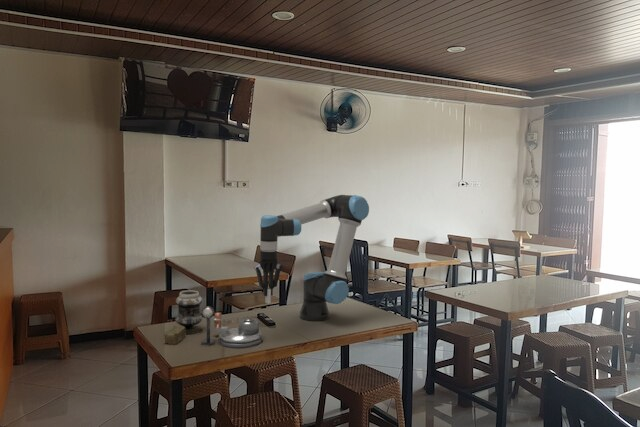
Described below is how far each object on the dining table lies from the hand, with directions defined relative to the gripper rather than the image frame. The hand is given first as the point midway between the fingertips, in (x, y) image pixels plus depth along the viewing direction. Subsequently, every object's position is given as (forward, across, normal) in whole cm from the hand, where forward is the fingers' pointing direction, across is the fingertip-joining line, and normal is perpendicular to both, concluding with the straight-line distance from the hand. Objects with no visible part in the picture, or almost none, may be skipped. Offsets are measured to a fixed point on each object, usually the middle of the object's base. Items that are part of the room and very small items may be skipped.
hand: (267, 302), depth 217 cm
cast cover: (+12, +9, 0) cm, 15 cm away
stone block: (+16, +38, -13) cm, 43 cm away
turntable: (+13, +14, -2) cm, 20 cm away
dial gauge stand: (+15, +25, -2) cm, 29 cm away
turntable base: (+15, +13, 0) cm, 20 cm away
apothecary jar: (+16, +29, -23) cm, 41 cm away
